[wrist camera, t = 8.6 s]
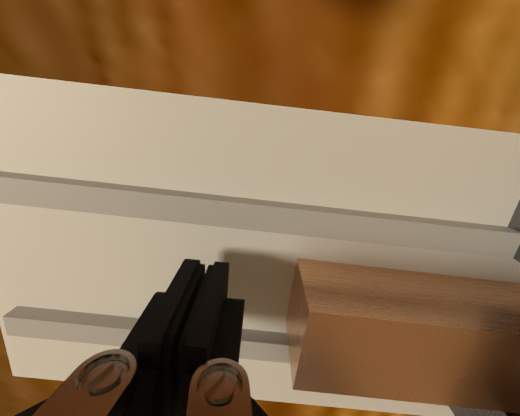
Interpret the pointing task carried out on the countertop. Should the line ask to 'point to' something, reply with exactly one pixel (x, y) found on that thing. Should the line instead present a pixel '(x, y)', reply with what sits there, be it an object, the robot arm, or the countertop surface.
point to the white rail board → (226, 214)
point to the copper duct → (404, 336)
